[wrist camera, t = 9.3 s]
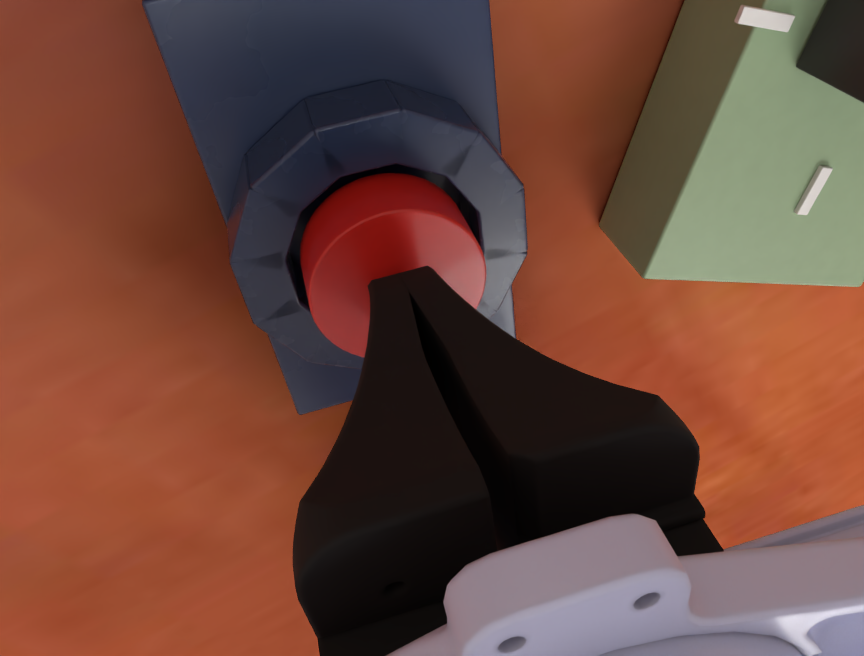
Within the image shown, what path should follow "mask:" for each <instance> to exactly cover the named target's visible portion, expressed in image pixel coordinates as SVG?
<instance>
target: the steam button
mask: <svg viewBox="0 0 864 656" xmlns="http://www.w3.org/2000/svg"><path fill="white" fill-rule="evenodd" d="M300 263H301V268H302V273H303V278H304V283H305V288H306V293H307V298H308V303H309V308H310V312H311V315H312V317H313V320H314V322H315V323H316V325H317V327H318V328H319V330H320V331H321V332H322V333H323V334H324V336H325V337H326V338H327V339H329V340H330V341H331V342H332V343H333V344H335V345H336V346H338V347H339V348H341V349H342V350H345V351H347V352H349V353H351V354H354V355H357V356H360V357H365V352H366V347H367V340H368V331H369V322H370V296H369V290H368V284H369V283H370V282H371V280H374V279H378V278H382V277H385V276H389V275H393V274H397V273H401V272H404V271H408V270H412V269H416V268H420V267H423V266H427V265H428V266H429V267H431V268H433V269H434V270H435V271H436V272H437V274H438V275H439V276H440V277H441V278H442V279H443V280H444V281H445V282H446V283H447V284H448V285H449V286H450V287H451V288H452V289H453V290H454V291H455V292H457V293H458V294H459V295H460V296H461V297H462V298H463V299H464V300H465V301H467V302H468V303H469V304H470V305H471V306H473V307H474V308H475V309H477V307H478V305H479V303H480V301H481V298H482V296H483V292H484V288H485V282H486V263H485V258H484V255H483V252H482V249H481V247H480V245H479V243H478V241H477V240H476V238H475V236H474V234H473V233H472V231H471V229H470V227H469V226H468V224H467V222H466V220H465V219H464V217H463V215H462V213H461V212H460V210H459V208H458V206H457V205H456V203H455V202H454V201H453V199H452V198H451V197H450V196H449V195H448V194H447V193H446V192H445V191H444V190H443V189H441V188H440V187H438V186H437V185H435V184H434V183H432V182H430V181H428V180H426V179H423V178H420V177H417V176H414V175H408V174H403V173H380V174H375V175H369V176H366V177H363V178H359V179H357V180H354V181H352V182H350V183H348V184H346V185H344V186H342V187H341V188H339V189H337V190H336V191H335V192H333V193H332V194H331V195H330V196H328V197H327V198H326V199H325V200H324V201H323V202H322V203H321V204H320V205H319V206H318V208H317V209H316V210H315V212H314V213H313V214H312V216H311V218H310V219H309V221H308V223H307V225H306V227H305V230H304V232H303V236H302V240H301V245H300Z"/></svg>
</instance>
